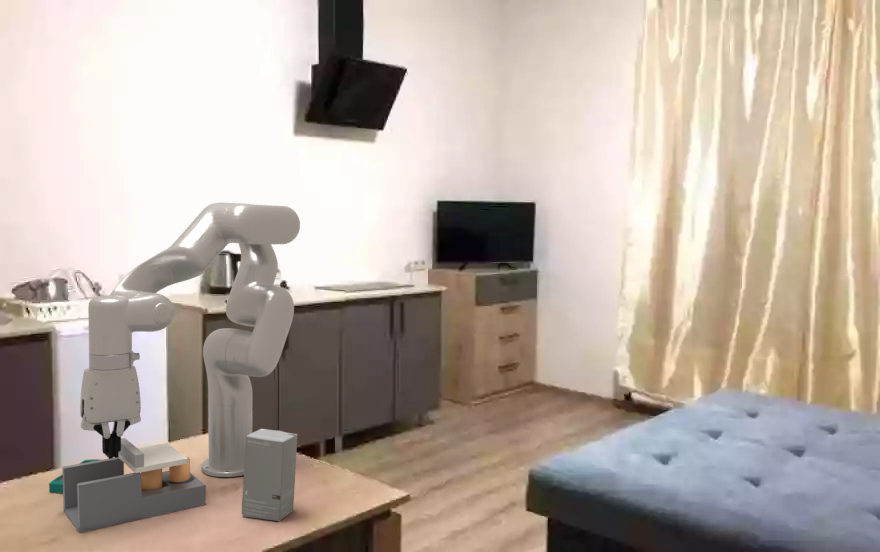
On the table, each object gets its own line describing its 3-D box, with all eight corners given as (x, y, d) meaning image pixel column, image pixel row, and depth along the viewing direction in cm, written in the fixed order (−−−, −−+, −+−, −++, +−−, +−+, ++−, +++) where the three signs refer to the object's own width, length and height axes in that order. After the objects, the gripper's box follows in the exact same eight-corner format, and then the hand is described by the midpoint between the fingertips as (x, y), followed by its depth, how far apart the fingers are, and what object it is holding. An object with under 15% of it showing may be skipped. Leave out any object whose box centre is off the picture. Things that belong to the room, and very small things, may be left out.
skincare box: (241, 517, 155) (240, 436, 153) (259, 503, 161) (259, 426, 160) (281, 523, 152) (281, 441, 151) (297, 509, 159) (298, 430, 158)
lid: (167, 447, 167) (167, 431, 166) (187, 463, 157) (187, 445, 157) (117, 456, 160) (116, 439, 160) (135, 473, 151) (135, 455, 151)
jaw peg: (138, 503, 160) (137, 464, 159) (158, 499, 162) (158, 460, 162) (144, 510, 157) (144, 469, 156) (165, 505, 159) (165, 465, 158)
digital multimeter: (117, 471, 179) (116, 458, 178) (82, 496, 164) (82, 482, 164) (85, 470, 179) (84, 457, 179) (47, 495, 165) (47, 481, 164)
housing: (183, 486, 170) (183, 445, 169) (205, 504, 160) (205, 461, 159) (63, 511, 155) (62, 466, 155) (79, 532, 146) (78, 485, 145)
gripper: (144, 354, 160) (144, 444, 162) (63, 362, 151) (64, 457, 152) (157, 360, 154) (157, 454, 156) (73, 369, 145) (75, 469, 146)
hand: (111, 456), depth 154 cm, fingers closed
